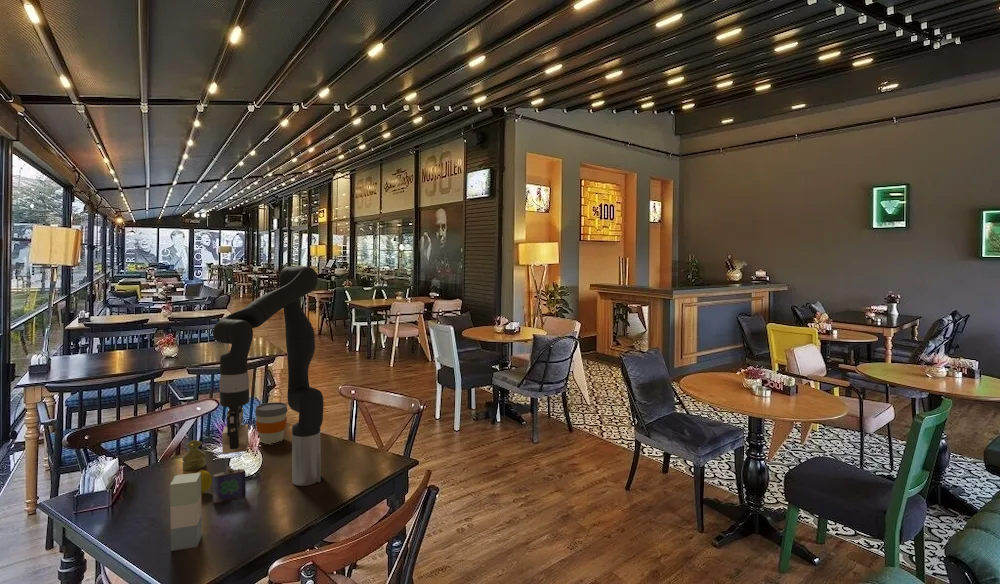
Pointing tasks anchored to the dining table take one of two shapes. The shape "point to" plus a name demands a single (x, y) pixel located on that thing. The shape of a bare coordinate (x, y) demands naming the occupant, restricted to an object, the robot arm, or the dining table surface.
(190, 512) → the tower mid
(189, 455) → the olive tiered cone
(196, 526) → the tower base
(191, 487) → the tower top
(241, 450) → the maple cube
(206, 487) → the lemon
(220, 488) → the flask
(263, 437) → the reusable coffee cup
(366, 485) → the dining table surface
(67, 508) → the dining table surface
